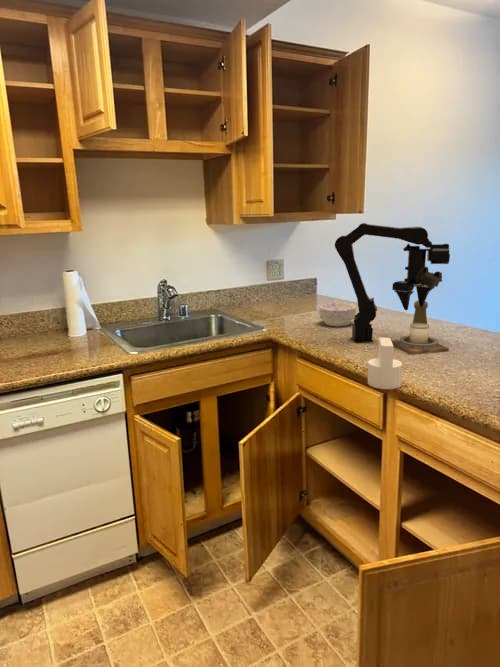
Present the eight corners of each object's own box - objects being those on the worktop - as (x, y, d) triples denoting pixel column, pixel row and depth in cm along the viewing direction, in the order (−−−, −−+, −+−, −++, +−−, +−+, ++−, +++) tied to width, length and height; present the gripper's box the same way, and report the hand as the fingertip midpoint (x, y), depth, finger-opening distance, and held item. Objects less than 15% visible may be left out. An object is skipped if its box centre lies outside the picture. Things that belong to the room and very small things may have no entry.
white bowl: (340, 330, 193) (340, 310, 191) (312, 324, 204) (312, 306, 202) (362, 323, 202) (363, 305, 200) (334, 318, 213) (334, 301, 211)
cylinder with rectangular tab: (403, 389, 127) (405, 346, 124) (368, 388, 128) (370, 345, 126) (398, 378, 136) (400, 337, 133) (366, 377, 137) (367, 337, 134)
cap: (408, 341, 168) (409, 322, 167) (426, 342, 167) (427, 323, 165) (409, 346, 163) (410, 326, 161) (428, 347, 161) (429, 327, 160)
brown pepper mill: (428, 329, 189) (430, 302, 186) (412, 329, 190) (414, 302, 187) (426, 326, 195) (427, 299, 192) (410, 325, 196) (412, 299, 193)
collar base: (409, 354, 157) (410, 347, 157) (390, 343, 171) (390, 336, 170) (448, 351, 160) (449, 344, 159) (426, 340, 173) (426, 334, 172)
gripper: (421, 268, 153) (418, 315, 157) (452, 263, 164) (449, 307, 168) (392, 265, 162) (390, 310, 165) (424, 261, 173) (421, 303, 176)
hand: (413, 308), depth 169 cm, fingers open, 9 cm apart
